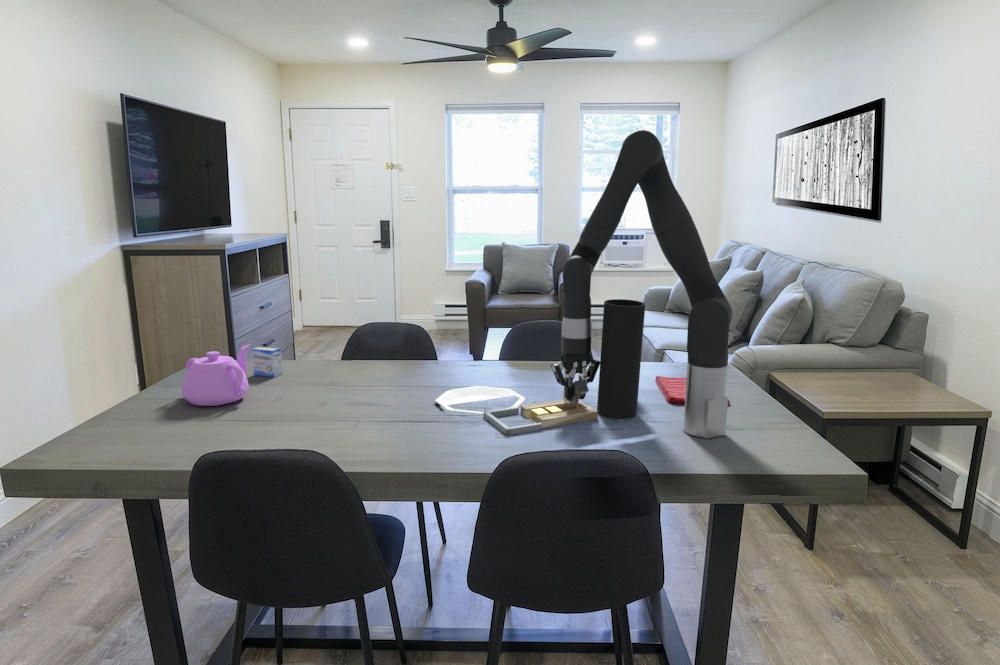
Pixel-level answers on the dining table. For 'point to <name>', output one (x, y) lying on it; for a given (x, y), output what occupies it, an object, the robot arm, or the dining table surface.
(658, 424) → the dining table surface
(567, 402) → the stepped metal block
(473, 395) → the plate
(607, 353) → the vase
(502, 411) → the tray
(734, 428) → the dining table surface
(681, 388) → the dish towel
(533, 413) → the yellow rectangular block
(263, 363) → the medicine box
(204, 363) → the teapot
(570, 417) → the slot board
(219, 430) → the dining table surface
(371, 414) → the dining table surface
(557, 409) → the yellow block
